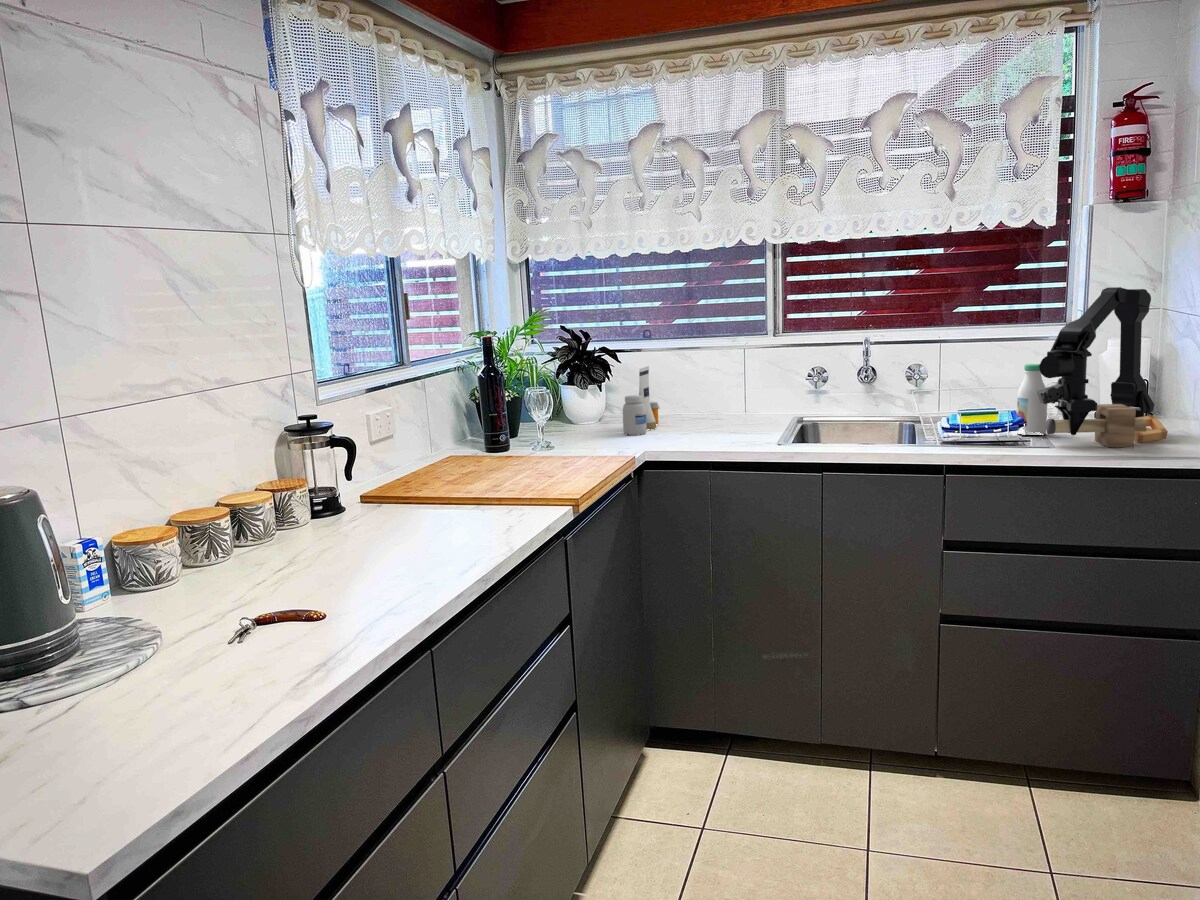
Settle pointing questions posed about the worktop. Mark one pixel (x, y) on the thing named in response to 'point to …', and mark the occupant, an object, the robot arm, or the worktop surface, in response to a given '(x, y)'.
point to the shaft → (1087, 425)
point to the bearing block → (1116, 425)
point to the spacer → (1154, 434)
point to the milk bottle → (1032, 400)
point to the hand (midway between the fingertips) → (1071, 433)
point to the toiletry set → (640, 408)
